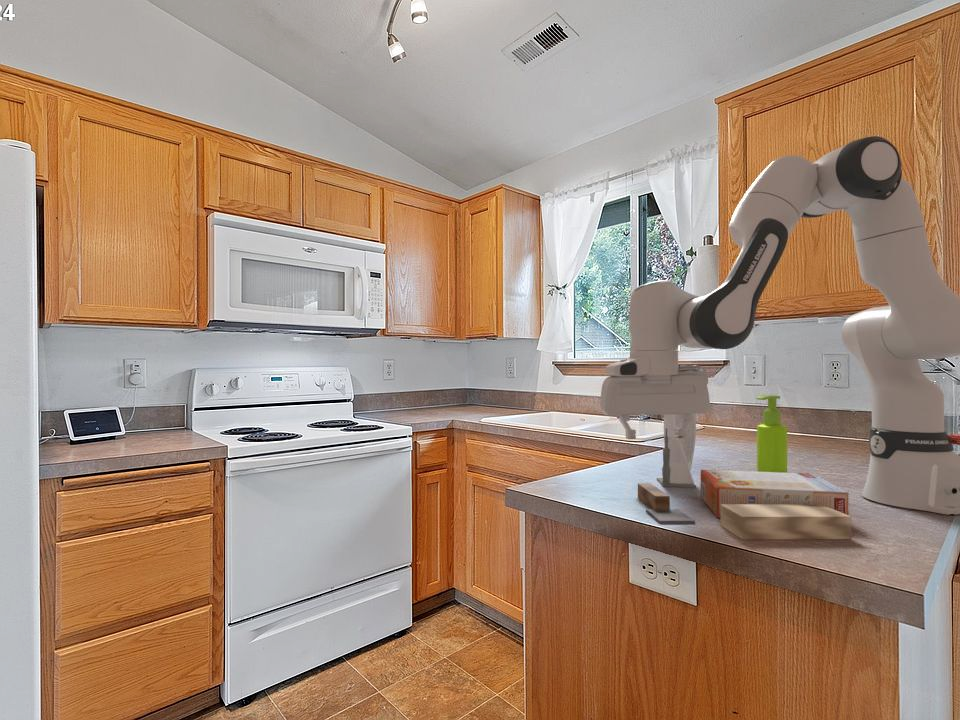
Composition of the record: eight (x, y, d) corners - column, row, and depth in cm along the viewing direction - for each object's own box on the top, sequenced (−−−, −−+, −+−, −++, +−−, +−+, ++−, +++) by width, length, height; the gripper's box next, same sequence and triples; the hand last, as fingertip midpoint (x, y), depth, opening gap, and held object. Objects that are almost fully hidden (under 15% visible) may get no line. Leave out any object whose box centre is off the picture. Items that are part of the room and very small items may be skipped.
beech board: (820, 524, 88) (820, 504, 88) (851, 539, 81) (851, 516, 81) (720, 525, 87) (720, 504, 87) (742, 539, 80) (742, 516, 80)
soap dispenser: (747, 483, 118) (747, 394, 118) (769, 480, 120) (769, 394, 120) (771, 489, 112) (771, 396, 112) (793, 486, 115) (793, 395, 115)
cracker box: (716, 520, 91) (850, 526, 87) (716, 485, 91) (850, 490, 87) (699, 498, 105) (815, 503, 101) (699, 468, 105) (814, 472, 101)
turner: (695, 524, 88) (695, 506, 88) (659, 524, 88) (659, 506, 88) (658, 498, 105) (658, 483, 105) (629, 498, 105) (629, 483, 105)
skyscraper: (655, 478, 123) (655, 359, 123) (691, 479, 122) (691, 359, 122) (663, 486, 114) (663, 359, 114) (701, 488, 113) (702, 359, 113)
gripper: (700, 364, 103) (701, 434, 103) (597, 366, 103) (598, 436, 103) (715, 365, 97) (716, 439, 97) (605, 367, 97) (607, 441, 97)
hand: (655, 438), depth 100 cm, fingers open, 8 cm apart
